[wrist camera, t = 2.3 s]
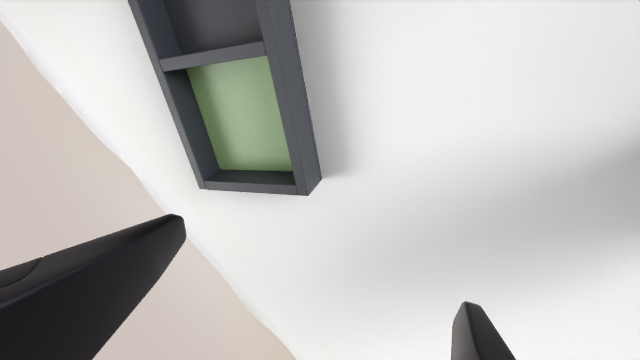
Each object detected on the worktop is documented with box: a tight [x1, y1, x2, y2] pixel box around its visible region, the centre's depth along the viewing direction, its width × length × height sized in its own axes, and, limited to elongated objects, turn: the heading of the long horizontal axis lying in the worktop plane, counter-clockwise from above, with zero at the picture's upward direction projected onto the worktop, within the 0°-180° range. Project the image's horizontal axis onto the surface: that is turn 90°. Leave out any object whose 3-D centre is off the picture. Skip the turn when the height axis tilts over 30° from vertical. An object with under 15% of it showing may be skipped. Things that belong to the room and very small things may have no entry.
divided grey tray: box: [128, 0, 322, 196], centre depth 20 cm, size 10×19×2 cm, turn 10°
